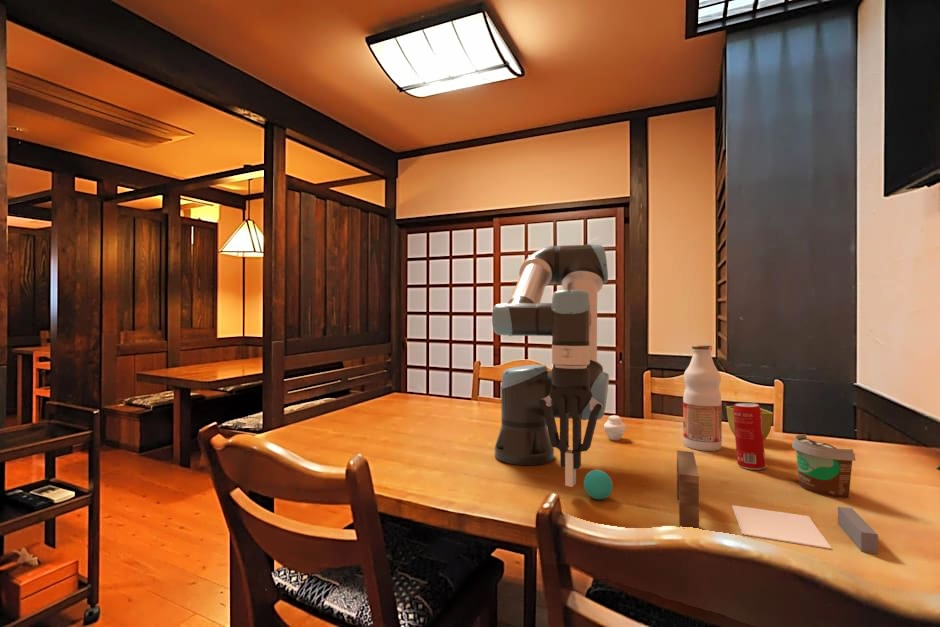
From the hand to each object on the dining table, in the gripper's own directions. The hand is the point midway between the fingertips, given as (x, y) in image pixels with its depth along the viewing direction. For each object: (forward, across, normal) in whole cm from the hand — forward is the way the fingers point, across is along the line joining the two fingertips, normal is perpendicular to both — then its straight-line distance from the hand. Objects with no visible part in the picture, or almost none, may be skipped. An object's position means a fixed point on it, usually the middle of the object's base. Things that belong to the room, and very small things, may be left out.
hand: (570, 484), depth 91 cm
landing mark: (+3, +35, +4) cm, 35 cm away
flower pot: (+1, +36, +63) cm, 72 cm away
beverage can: (+2, +34, +36) cm, 50 cm away
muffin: (+1, +1, +48) cm, 48 cm away
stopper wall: (+3, +46, +4) cm, 46 cm away
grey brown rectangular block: (+3, +21, +3) cm, 21 cm away
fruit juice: (+1, +24, +50) cm, 55 cm away
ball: (0, +5, +2) cm, 5 cm away
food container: (+2, +45, +26) cm, 52 cm away
